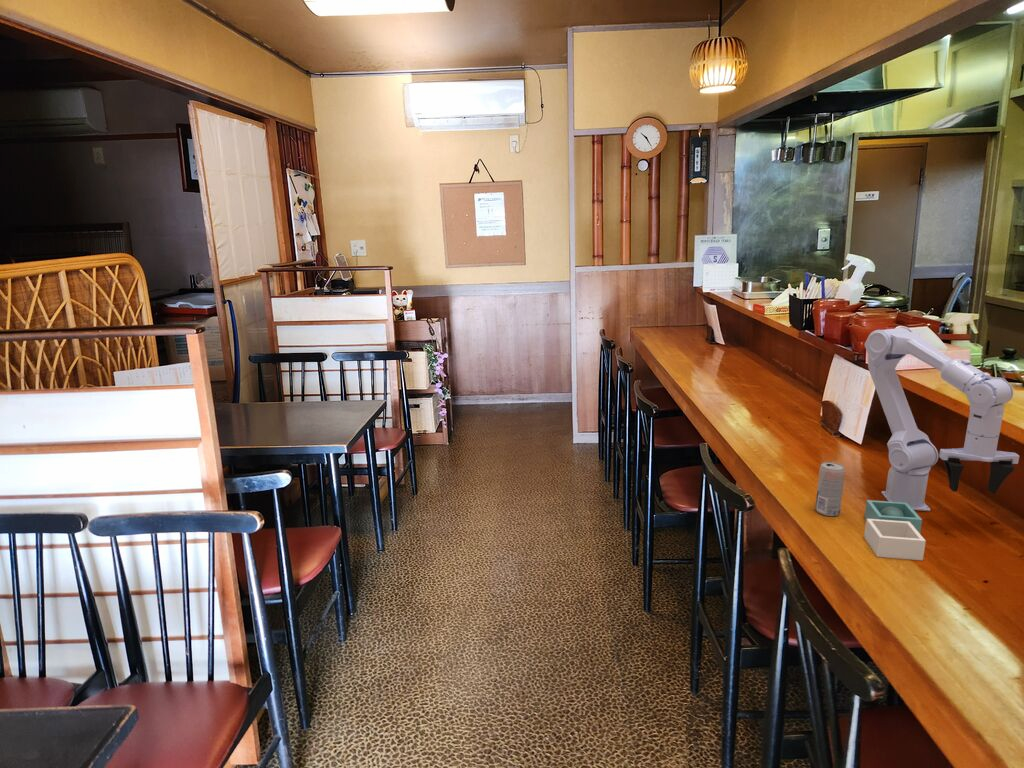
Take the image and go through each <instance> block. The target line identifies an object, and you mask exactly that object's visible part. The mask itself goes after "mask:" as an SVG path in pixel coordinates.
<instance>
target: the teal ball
mask: <svg viewBox="0 0 1024 768" xmlns="http://www.w3.org/2000/svg"><path fill="white" fill-rule="evenodd" d="M880 514H881V515H884V516H898V517H904V514H903V512H902V511H901V510H899V509H898V508H896V507H886V508H884V509H883V510H882V511H881V512H880Z"/></svg>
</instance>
